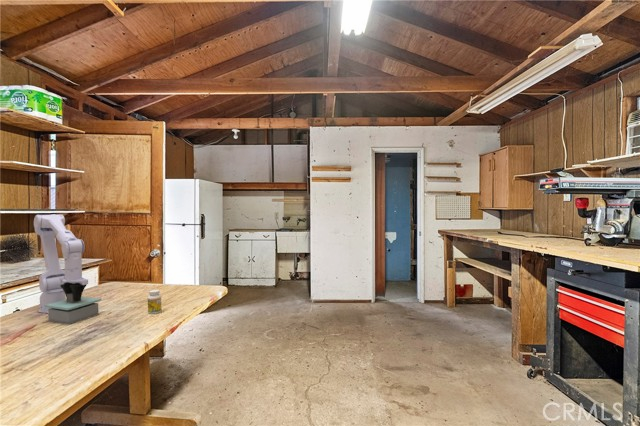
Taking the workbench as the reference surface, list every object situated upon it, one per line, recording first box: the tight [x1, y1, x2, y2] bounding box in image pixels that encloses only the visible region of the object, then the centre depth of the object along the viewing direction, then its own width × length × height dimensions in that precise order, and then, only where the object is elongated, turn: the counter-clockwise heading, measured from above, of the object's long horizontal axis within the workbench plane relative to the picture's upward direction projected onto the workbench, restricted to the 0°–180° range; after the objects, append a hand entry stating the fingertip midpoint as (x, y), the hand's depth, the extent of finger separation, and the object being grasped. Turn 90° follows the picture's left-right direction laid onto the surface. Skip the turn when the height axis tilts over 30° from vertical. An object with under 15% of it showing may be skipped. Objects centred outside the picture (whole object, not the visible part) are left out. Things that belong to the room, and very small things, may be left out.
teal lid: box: [45, 293, 102, 310], centre depth 132 cm, size 14×14×4 cm
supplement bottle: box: [147, 289, 162, 315], centre depth 139 cm, size 5×5×10 cm
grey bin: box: [47, 302, 99, 325], centre depth 132 cm, size 12×12×5 cm
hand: (73, 300), depth 132 cm, fingers closed on teal lid, 3 cm apart
